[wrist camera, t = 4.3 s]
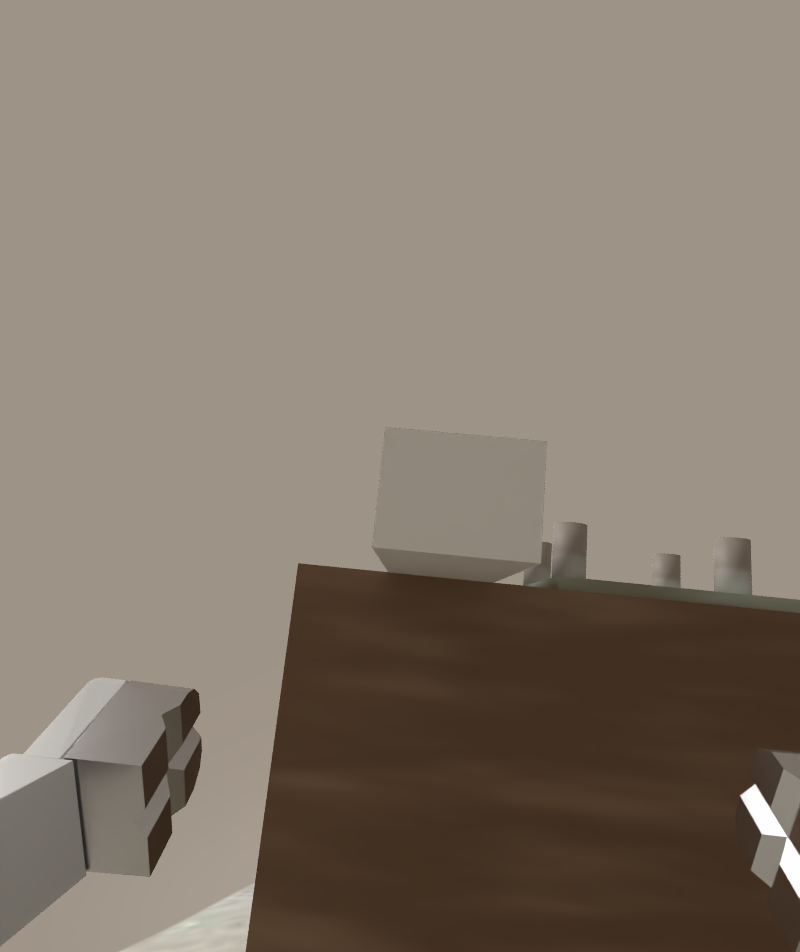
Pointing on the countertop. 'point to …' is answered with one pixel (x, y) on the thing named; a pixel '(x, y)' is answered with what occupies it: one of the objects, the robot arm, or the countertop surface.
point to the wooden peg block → (523, 760)
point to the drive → (459, 504)
